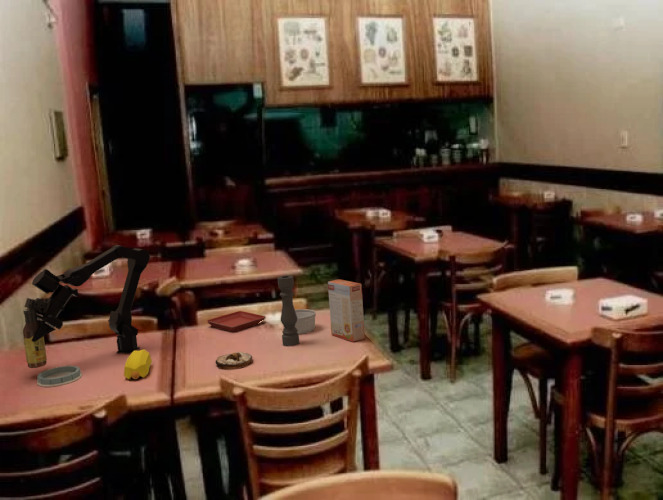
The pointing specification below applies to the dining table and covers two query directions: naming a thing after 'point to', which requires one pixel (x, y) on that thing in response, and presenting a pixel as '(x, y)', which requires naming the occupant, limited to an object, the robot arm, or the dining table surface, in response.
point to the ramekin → (305, 320)
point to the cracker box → (346, 310)
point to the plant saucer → (236, 321)
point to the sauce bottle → (32, 349)
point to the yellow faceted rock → (137, 364)
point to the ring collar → (59, 376)
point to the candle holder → (288, 311)
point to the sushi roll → (234, 360)
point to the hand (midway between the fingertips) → (29, 339)
